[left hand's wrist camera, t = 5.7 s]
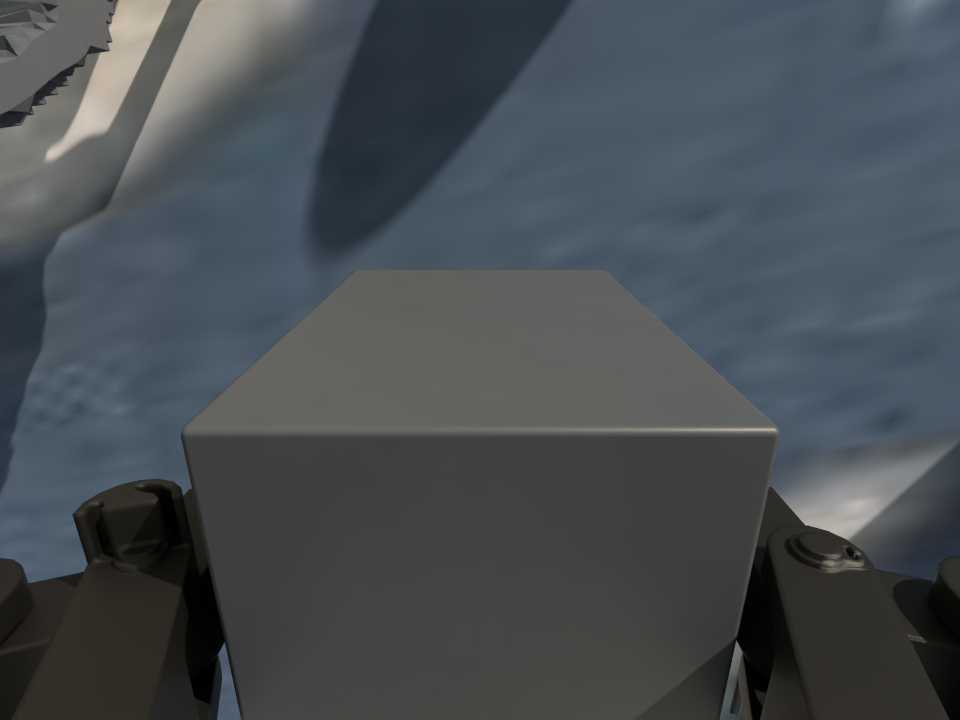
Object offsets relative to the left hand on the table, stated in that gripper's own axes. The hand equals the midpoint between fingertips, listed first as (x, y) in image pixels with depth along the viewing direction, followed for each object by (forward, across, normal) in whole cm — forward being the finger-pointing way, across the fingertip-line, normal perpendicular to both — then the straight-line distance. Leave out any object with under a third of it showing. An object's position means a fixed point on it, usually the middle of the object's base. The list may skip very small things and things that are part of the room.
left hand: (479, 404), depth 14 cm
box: (+1, 0, -7) cm, 7 cm away
